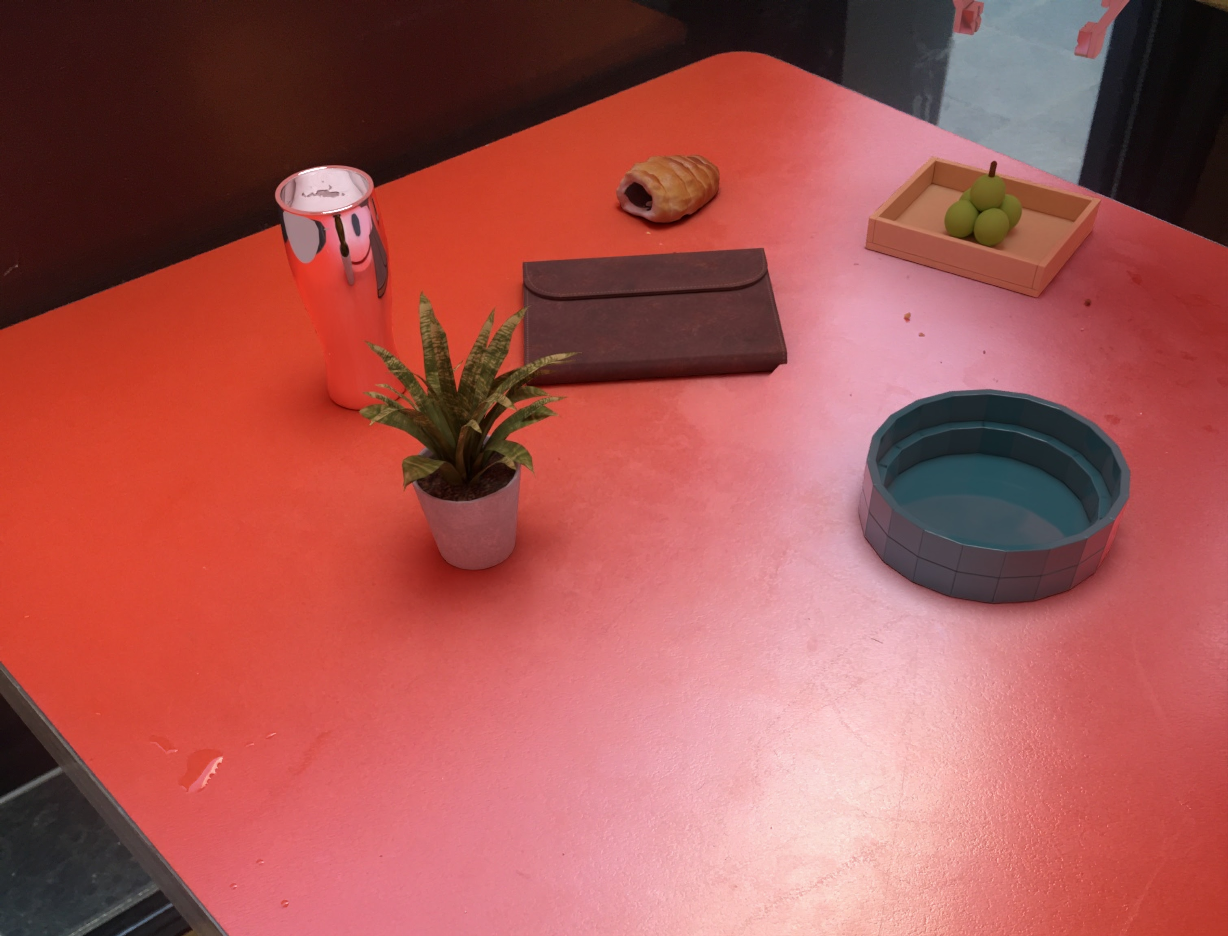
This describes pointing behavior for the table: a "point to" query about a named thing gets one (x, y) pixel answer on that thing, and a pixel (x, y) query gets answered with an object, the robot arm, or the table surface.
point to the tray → (1014, 263)
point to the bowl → (992, 495)
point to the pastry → (668, 187)
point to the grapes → (984, 210)
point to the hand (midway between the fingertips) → (1025, 43)
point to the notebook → (652, 316)
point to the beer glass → (342, 276)
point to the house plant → (466, 438)
